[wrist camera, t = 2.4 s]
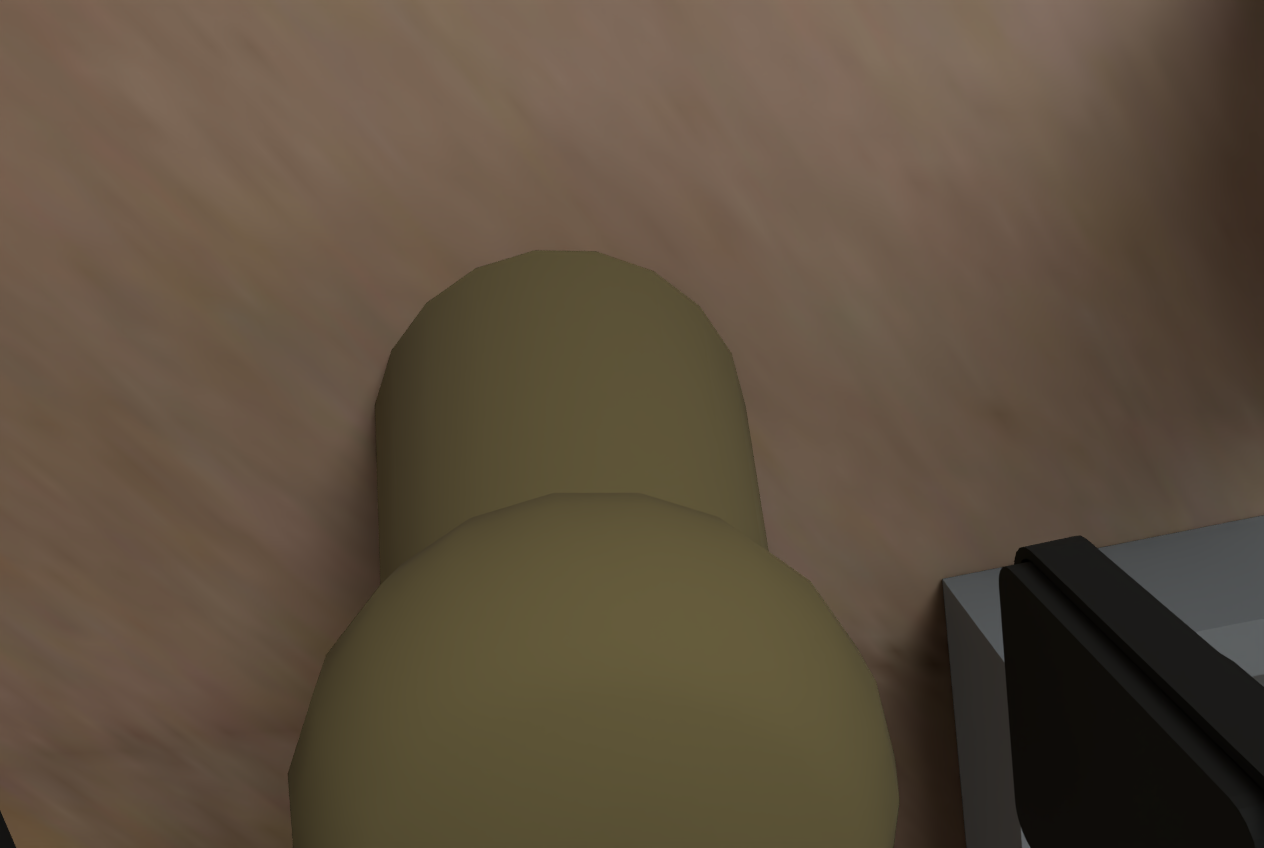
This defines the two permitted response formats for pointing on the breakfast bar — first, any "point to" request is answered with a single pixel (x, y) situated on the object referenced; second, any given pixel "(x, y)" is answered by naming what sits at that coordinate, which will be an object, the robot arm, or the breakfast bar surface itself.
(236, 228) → the breakfast bar surface
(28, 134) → the breakfast bar surface
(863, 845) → the cork
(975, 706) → the tray
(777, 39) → the breakfast bar surface
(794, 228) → the breakfast bar surface
